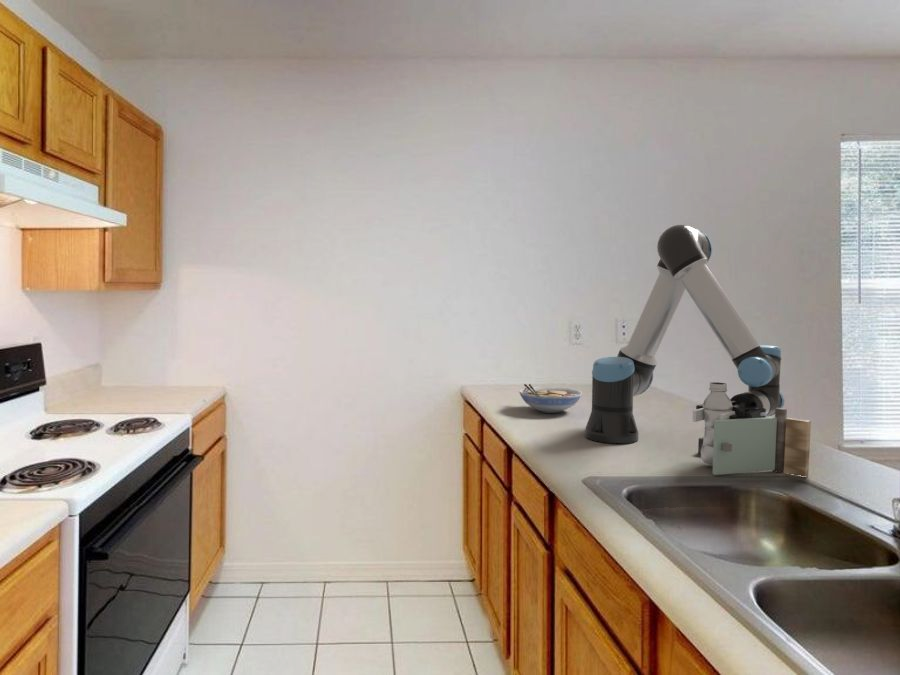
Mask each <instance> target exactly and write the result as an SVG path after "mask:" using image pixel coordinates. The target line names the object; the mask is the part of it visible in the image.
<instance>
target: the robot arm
mask: <svg viewBox="0 0 900 675" xmlns="http://www.w3.org/2000/svg"><path fill="white" fill-rule="evenodd" d="M656 248H657V254H658V256H659V261H658V262H657V265H656V267H657V270H658V273H659V274H658V276H657V279H656V281H655V283H654V285H653V287H652V290H651V291H650V293H649V296H648V298H647V301H646V303H645V305H644V307H643V310H642V312H641V314H640V315H639V318H638V321H637V324H636V325H635V328H634V330H633V333H632V335H631V336H630V339H629V341H628V343H627V345H625V346H623V347H621V348H619V349H620V350H619V351H618V353H617V356H608V357H601V358H598V359H595V361H593V365H592V370H591V375H592V376H591V378H592V382H591V411H590V415H589V416H588V417H589V418H588V420H587V423H586V425H585V430H584V431H585V432H584V433H585V434H584V437H585V436H586V437H587V438H586V437H585V438H586V439H588V438H589V439H588V440H591V441H595V442H598V441H599V442H598V443H604V442H605V444H616V443H623V444H632V443H636V442H638V441H639V435H640V434H639V433H640V432H639V429H638V426H637V422H636V420H635V416H634V413H633V412H634V397H637V396H639V395H642V394H643V393H645V392H646V391H647V390H648V389H649V388H650V387H651V385H652V383H653V380H654V371H655V369H656V366H657V365H658V364H657V360H656V357H655V356H656V354H657V352H658V349H659V348H660V345H661V344H662V341H663V339H664V336H665V335H666V332H667V330H668V327H669V326H670V323H671V322H672V320H673V317H674V314H675V313H676V310H678V309H677V308H678V306H679V304H680V302H681V300H682V298H683V295H684V293H685V292H687V293H688V295H689V296H690V298H691V299H692V301H693V303H695V306H696V307H697V308H698V310H699V311H700V313H701V315H702V316H703V318H704V319H705V321H706V323H708V326H709V327H710V329H711V330H712V332H713V333H714V334H715V336H716V338H717V339H718V342H720V344H721V346H722V348H723V349H724V351H725V352H726V353H727V355H728V356H729V357H730V359H731V361H732V363H733V364H734V366H735V368H736V369H737V375H738V378H739V380H740V381H741V382H742V383H743V384H745V385H747V386H748V387H747V388H748V390H747V391H745V392H742V393H737V394H735V395H733V396H732V397H731V398H729V399H730V400H731V402H732V405H733V408H732V412H727V413H723V414H720V420H728V419H747V418H766V417H773V416H775V408H784V405H785V397H784V395H783V393H782V392H781V391H780V387H781V386H780V379H781V378H780V377H781V364H782V362H781V361H782V355H781V354H782V353H781V352H782V350H781V347H779V346H778V345H777V346H776V345H770V344H769V345H765V344H759V341H757V339H756V338H755V336H754V334H753V333H752V332H751V330H750V329H749V327H748V326H747V324H746V322H745V321H744V319H743V318H742V316H741V315H740V313H739V312H738V310H737V309H736V307H735V306H734V305H733V303H732V301H731V300H730V298H729V296H728V295H727V294H726V292H725V291H724V289H723V288H722V286H721V285H720V283H719V282H718V280H717V279H716V277H715V275H714V274H713V273H712V271H711V269H710V268H709V267H708V265H707V263H708V262H709V261H710V259H711V257H712V252H713V244H712V242H711V240H710V238H709V237H708V235H707V234H706V233H705V232H703V231H702V230H699V229H697V228H694V227H691V226H689V225H687V224H677V225H672V226H670V227H668V228H667V229H666V230H664V231H663V232H662V234H661V235H660V236H659V238H658V241H657V246H656ZM703 409H704V408H703V403H702V404H696V405H695V409H694V410H692V422H693V423H694V422H695V423H697V422H700V421H704V411H703Z"/></svg>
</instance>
